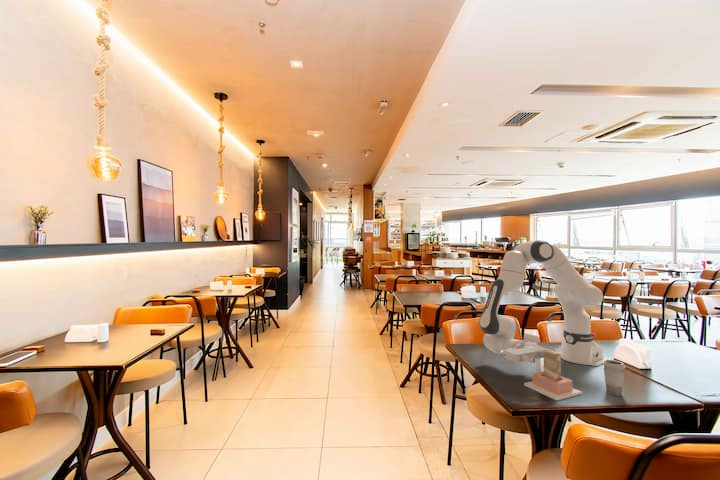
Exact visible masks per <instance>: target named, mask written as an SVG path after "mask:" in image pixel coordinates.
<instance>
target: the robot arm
mask: <svg viewBox="0 0 720 480" xmlns="http://www.w3.org/2000/svg"><path fill="white" fill-rule="evenodd" d="M537 263H541V264H542V266H543V267H544V269H545V270H546V272H547V274H548V275H549V276H550V278H551V279H552V280H553V281H554V282H555V283H556V284H555V286H554V288H553V293H554V295H555V298H557V299H558V301H559V304H560V306H561V309H562V312H563V313H562V314H563V320H564V325H563V327H564V329H563V332H562V333H563V335H562V336H563V339H561V348H560V351H559V352H558V353H561V359H562V360H564V361H566V362H570V363H573V364H579V365H585V366H587V365H588V366H594V367H598V366H600V365H603V364H602V363H603V362H604V360H610V359H609V357H606V356H604V355H603V353H604V352H603V348H602V347H601V346H600V345H599V344H598V343H596V342H595V341H594V338H596V337H597V333H594V332H592V331H591V324H592V322H591V321H592V320H591V317H590V315H589V314H588V313H587V311H586V310H585V307H587V308H588V307H598V306H600V305H601V303H602V302H603V299H604V294H603V291H602V290H601V289H600V288H599V287H597V286H595V285H594V284H593V283H591V282H590V281H588V280H587V279H586V278H585V277H584V276H582V274H580V273H579V272H578V270H576V268H575V267H574V265H572V263H571V262H570V260H569V259H568V257H567V256H566V255H565V253H564V252H563V251H562V250H561V248H559V246H557V245H556V244H555V243H554V242H548V241H546V240H543V239H542V240H541V239H539V240H528V241H524V242H519V243H517V244H515V245H513V246H512V247H511V249H510V250H509V251H507V252H505V254H504V256H503V259H502V262H501V265H500V270H499V274H498V277H497V279H495V281H493V283H492V284H491V287H490V290H489V293H488V295H487V299H486V303H485V305H484V308H483V311H482V312H481V315H480V317H479V319H478V324H479V327H480V330H481V331H482V332H483V334H484V335H483V339H482V340H483V344H484V346H485V347H486V348H487V349H488V350H489V351H491V352H493V353H495V354H498V355H501V356H503V358H504V359H506V360H508V361H510V362H512V363H521V362H526V363H530V364H535V363H536V360H539V359H544V350H548V349H547V347H544V346H542V345H539V344H536V343H532V342H531V341H530V340H525V339H523V340H522V339H516V338H515V337H516V333H517V330H518V326H517V323H516V320H515V319H514V318H513V317H510V316H507V315H502V314H498V313H499V312H498V311H499V308H500V306H501V302H502V298H503V297H504V295H506V294H508V293H512V292H515V291H518V290H519V289H521V288H522V287H523V285H524V282H525V277H526V276H525V275H526V267H527V266H528V264H529V265H530V264H537Z"/></svg>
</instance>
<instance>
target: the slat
mask: <svg viewBox="0 0 720 480" xmlns="http://www.w3.org/2000/svg"><path fill="white" fill-rule="evenodd" d="M561 359H562V358H561V353H559V352H557V351H555V350H552V349H547V350H544V358H543V372H544V376H545V377H547V378H549V379H552V380H554V381H559V380H561V376H562V375H561V371H562V370H561V367H562V366H561Z"/></svg>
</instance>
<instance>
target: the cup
mask: <svg viewBox="0 0 720 480" xmlns="http://www.w3.org/2000/svg"><path fill="white" fill-rule="evenodd" d="M601 365H603V374H604V383H605V388H606V389H605V390H606V393H608V394H609V395H611V396H612V395H613V396H616V397H619V396H620V397H621V396H622V394H623V386H624V380H625V378H624V377H625V371H624V370H625V369H626V365H624V362H622V361H618V360H615V359H609V360H604V362H603V363H602V364H601Z"/></svg>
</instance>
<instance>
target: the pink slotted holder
mask: <svg viewBox="0 0 720 480" xmlns="http://www.w3.org/2000/svg"><path fill="white" fill-rule="evenodd" d="M523 384H524V386H525V387H527V388H529V389H531V390H533V391H536V392H537V393H540V394H542V395H544V396H545V397H548V398H551V399H552V400H555V401H561V400H564V399H567V398H573V397H576V396H581V395H582V394H583V393H582V391H581V390H579V389H577V388H573V379H570V378H567V377H564V376H562V375H561V380H559V381H554V380H552V379H549V378H547V377H545V376H544V371H539V372H534V373H532V381H528V382H524V383H523Z"/></svg>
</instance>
